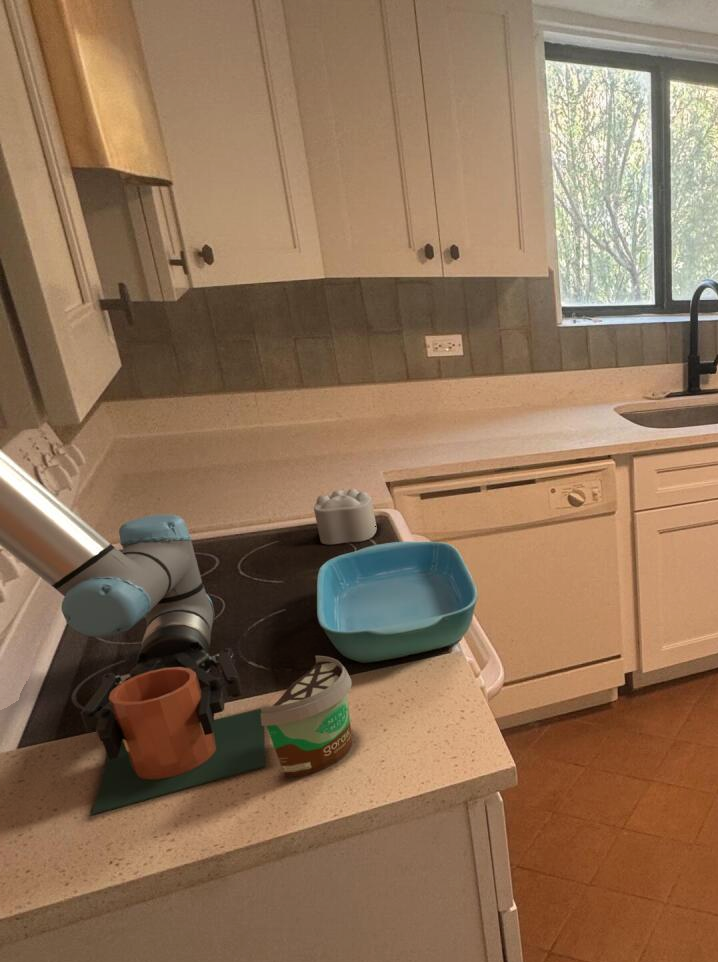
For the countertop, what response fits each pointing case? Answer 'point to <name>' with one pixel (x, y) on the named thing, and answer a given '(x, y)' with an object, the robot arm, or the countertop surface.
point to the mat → (232, 756)
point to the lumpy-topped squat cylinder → (345, 517)
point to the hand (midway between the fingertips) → (159, 735)
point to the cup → (162, 722)
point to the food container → (312, 719)
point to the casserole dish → (395, 600)
